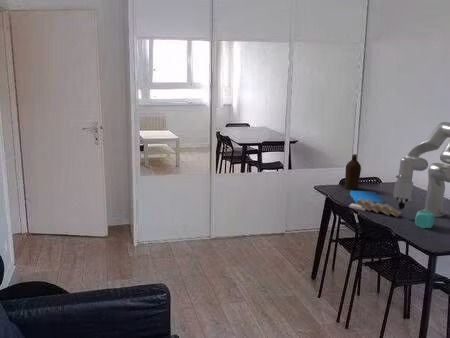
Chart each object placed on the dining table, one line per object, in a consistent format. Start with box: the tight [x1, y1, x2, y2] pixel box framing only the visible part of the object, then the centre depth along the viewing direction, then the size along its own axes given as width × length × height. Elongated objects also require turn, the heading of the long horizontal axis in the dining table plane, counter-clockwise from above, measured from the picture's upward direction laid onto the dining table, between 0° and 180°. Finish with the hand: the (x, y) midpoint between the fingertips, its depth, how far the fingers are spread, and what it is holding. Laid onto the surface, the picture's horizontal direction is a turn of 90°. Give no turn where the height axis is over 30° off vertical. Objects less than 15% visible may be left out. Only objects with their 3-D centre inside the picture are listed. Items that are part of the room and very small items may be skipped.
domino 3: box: [374, 203, 392, 216], centre depth 282 cm, size 2×5×10 cm
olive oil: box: [344, 153, 362, 191], centre depth 335 cm, size 11×11×25 cm
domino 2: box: [364, 199, 381, 214], centre depth 286 cm, size 2×5×10 cm
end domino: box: [348, 202, 368, 212], centre depth 291 cm, size 2×5×10 cm
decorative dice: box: [414, 210, 435, 229], centre depth 262 cm, size 8×8×8 cm
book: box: [349, 190, 386, 206], centre depth 307 cm, size 17×4×25 cm
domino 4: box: [382, 203, 402, 218], centre depth 279 cm, size 2×5×10 cm
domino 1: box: [356, 198, 373, 212], centre depth 289 cm, size 2×5×10 cm
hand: (401, 208), depth 276 cm, fingers closed
